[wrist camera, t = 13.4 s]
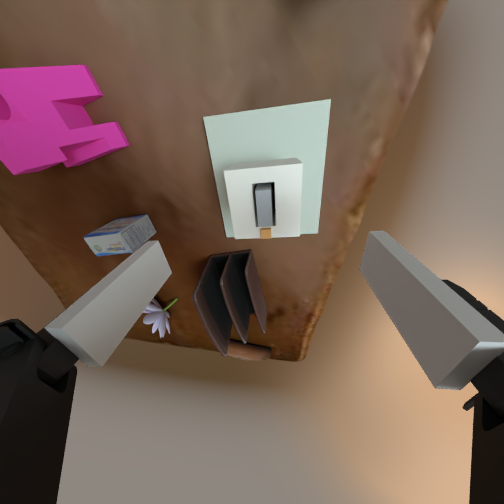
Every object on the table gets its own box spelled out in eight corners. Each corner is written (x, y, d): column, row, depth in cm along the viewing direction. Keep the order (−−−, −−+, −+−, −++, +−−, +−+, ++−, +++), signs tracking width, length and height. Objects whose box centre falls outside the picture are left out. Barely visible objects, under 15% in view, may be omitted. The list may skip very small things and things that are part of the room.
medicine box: (148, 213, 38) (118, 231, 31) (157, 232, 40) (132, 253, 33) (116, 218, 40) (80, 236, 32) (127, 236, 42) (96, 257, 34)
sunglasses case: (215, 349, 63) (211, 361, 57) (219, 329, 63) (216, 339, 56) (265, 359, 64) (267, 373, 57) (270, 340, 64) (272, 352, 57)
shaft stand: (206, 118, 28) (151, 102, 16) (328, 100, 26) (380, 66, 13) (228, 233, 39) (205, 280, 26) (316, 229, 36) (338, 279, 24)
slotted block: (234, 163, 24) (222, 171, 18) (296, 157, 23) (303, 163, 17) (242, 220, 28) (234, 240, 23) (294, 217, 27) (300, 238, 22)
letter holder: (233, 311, 52) (221, 363, 40) (210, 254, 42) (185, 299, 30) (267, 309, 50) (265, 362, 38) (252, 248, 40) (242, 294, 28)
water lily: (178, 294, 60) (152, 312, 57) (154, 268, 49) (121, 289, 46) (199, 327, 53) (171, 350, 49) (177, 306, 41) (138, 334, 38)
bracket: (79, 165, 34) (13, 175, 26) (32, 97, 29) (-70, 81, 21) (130, 145, 32) (76, 148, 23) (88, 66, 26) (-3, 32, 18)
